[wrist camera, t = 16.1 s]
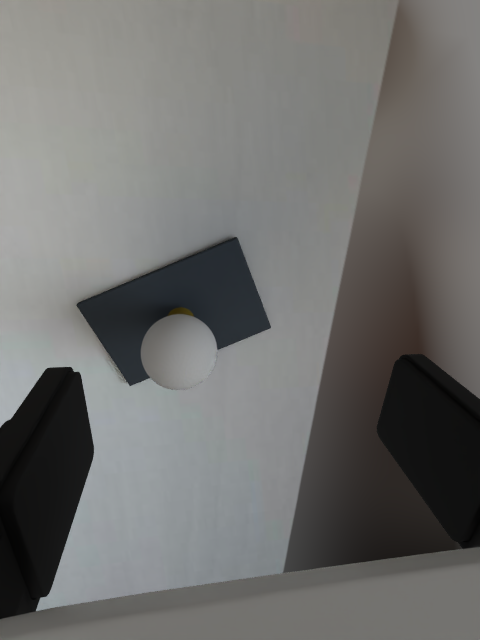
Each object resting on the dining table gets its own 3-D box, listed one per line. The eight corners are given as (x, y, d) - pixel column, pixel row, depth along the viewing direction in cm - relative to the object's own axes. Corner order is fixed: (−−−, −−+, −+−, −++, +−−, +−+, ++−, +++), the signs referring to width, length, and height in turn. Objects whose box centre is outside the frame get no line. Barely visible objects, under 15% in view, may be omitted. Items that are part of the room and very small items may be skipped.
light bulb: (204, 282, 31) (212, 327, 22) (215, 337, 34) (226, 396, 25) (142, 294, 31) (125, 344, 22) (158, 348, 33) (148, 413, 24)
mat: (236, 236, 31) (237, 237, 30) (269, 325, 35) (271, 327, 35) (77, 302, 31) (76, 305, 30) (130, 382, 35) (129, 386, 35)
